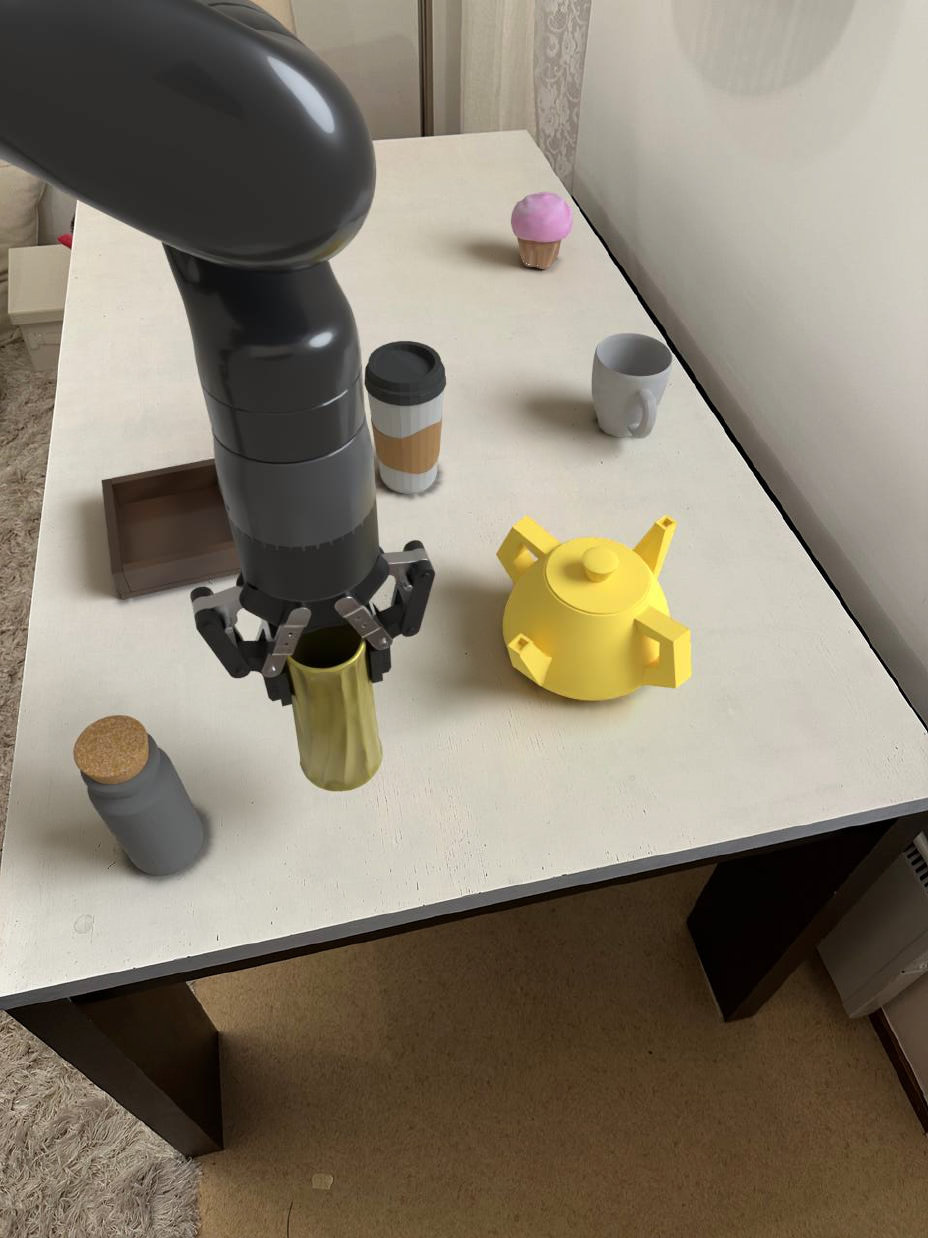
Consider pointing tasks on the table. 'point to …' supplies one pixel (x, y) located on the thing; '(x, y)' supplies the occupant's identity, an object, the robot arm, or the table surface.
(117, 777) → the bottle
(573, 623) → the teapot
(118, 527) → the tray
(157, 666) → the table surface
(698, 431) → the table surface
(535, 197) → the cupcake
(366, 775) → the vase
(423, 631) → the table surface
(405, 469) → the coffee cup
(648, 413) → the mug
